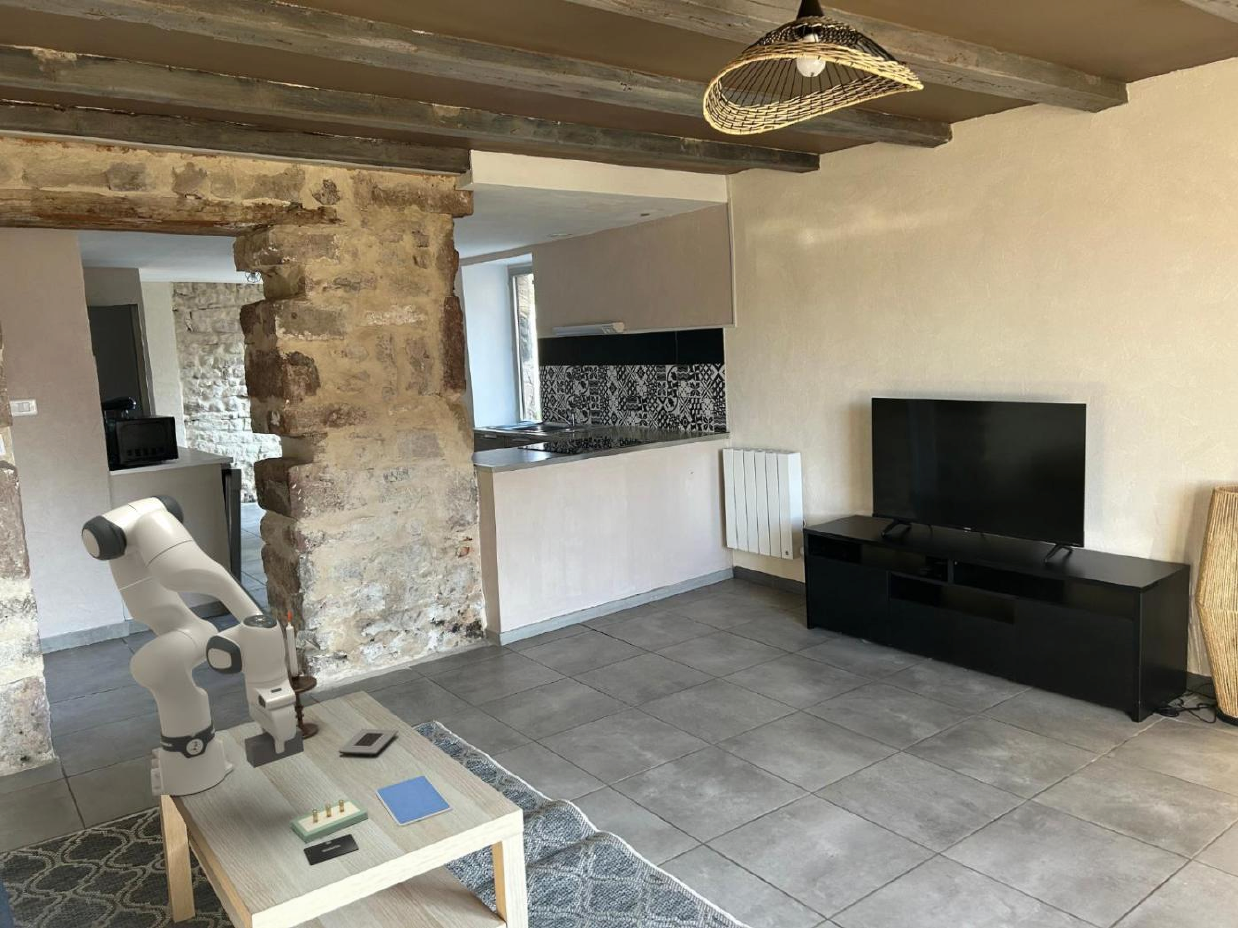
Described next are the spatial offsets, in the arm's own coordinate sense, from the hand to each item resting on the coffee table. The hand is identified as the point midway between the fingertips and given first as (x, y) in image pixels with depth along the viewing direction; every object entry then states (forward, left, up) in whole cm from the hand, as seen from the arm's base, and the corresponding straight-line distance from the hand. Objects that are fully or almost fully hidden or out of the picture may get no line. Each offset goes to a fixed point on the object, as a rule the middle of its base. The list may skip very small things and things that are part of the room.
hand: (274, 746), depth 201 cm
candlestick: (-42, +20, -17) cm, 50 cm away
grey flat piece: (-20, +30, -18) cm, 40 cm away
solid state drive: (+21, +3, -18) cm, 27 cm away
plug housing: (0, 0, -2) cm, 2 cm away
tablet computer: (+15, +25, -18) cm, 34 cm away
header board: (+10, +7, -17) cm, 21 cm away
